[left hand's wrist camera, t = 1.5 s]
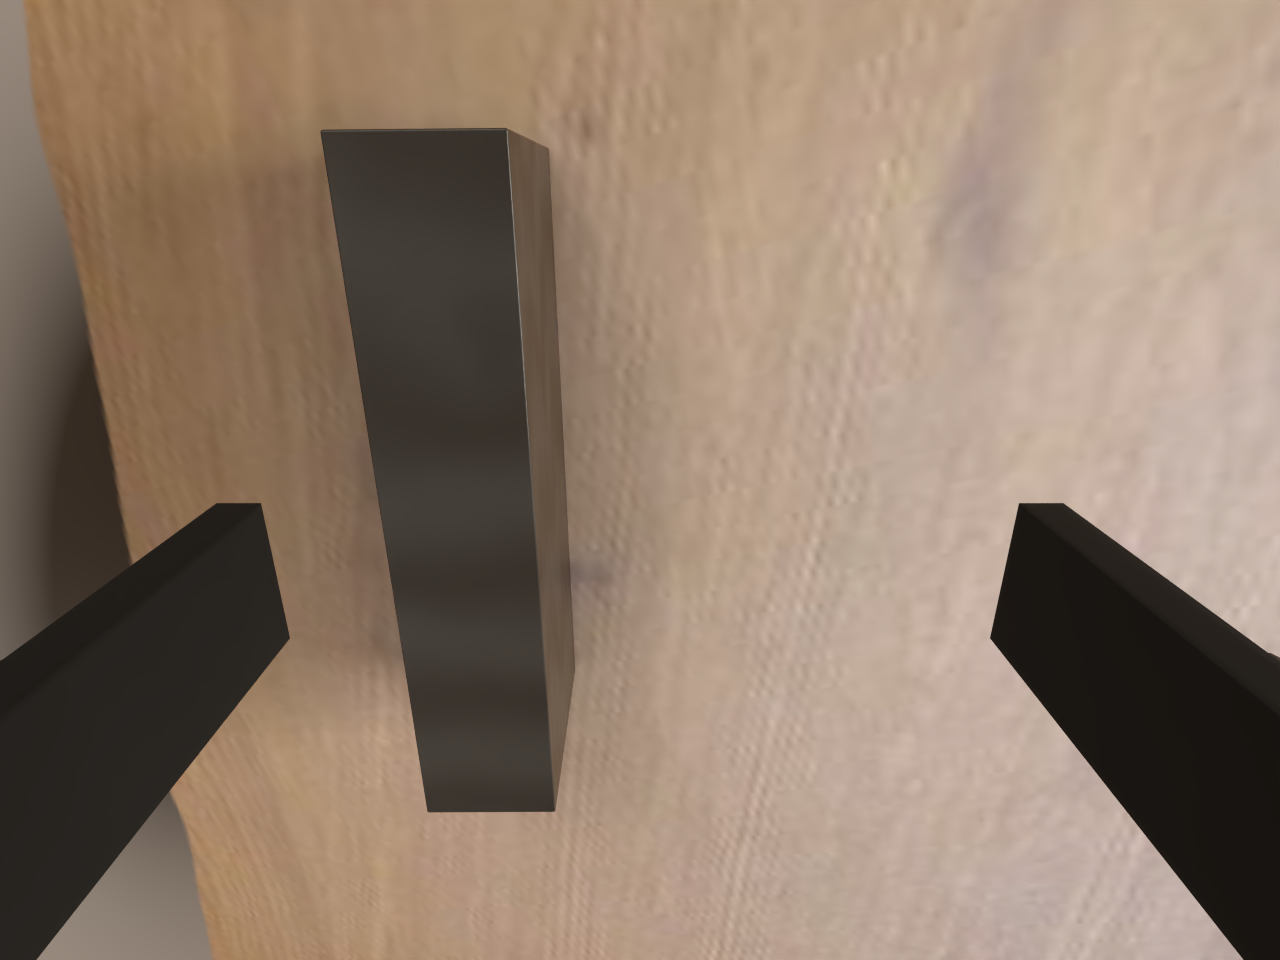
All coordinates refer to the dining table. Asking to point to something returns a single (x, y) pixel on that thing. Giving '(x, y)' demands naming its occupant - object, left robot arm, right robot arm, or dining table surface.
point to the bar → (465, 444)
